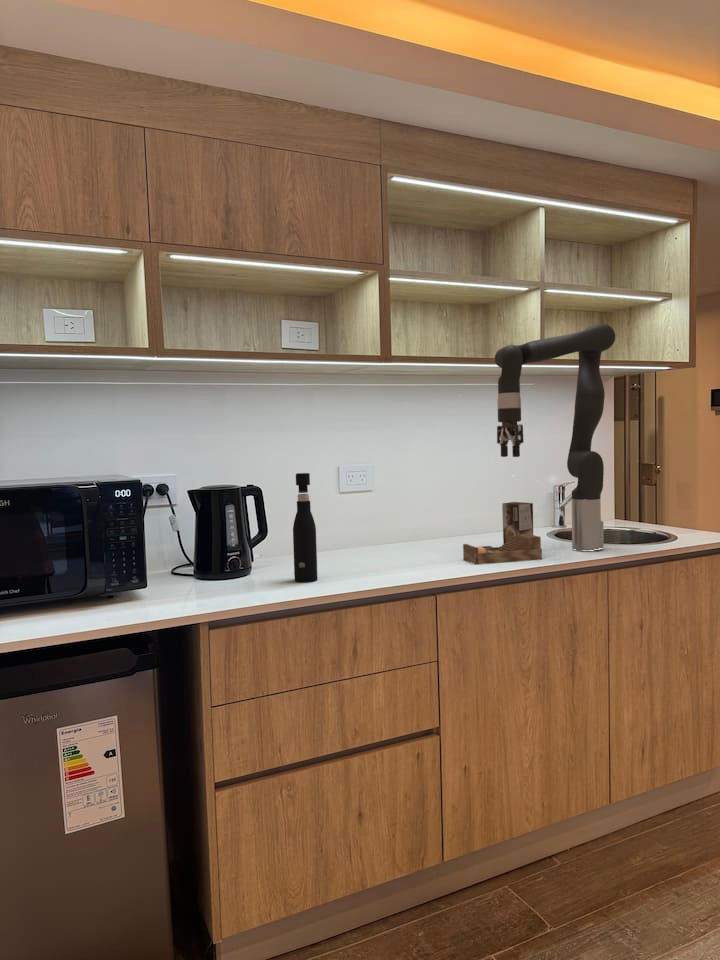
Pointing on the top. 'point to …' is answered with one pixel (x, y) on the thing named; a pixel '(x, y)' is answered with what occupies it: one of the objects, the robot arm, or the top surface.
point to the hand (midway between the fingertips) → (510, 456)
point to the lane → (507, 551)
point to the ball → (481, 550)
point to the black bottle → (304, 535)
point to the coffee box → (517, 519)
